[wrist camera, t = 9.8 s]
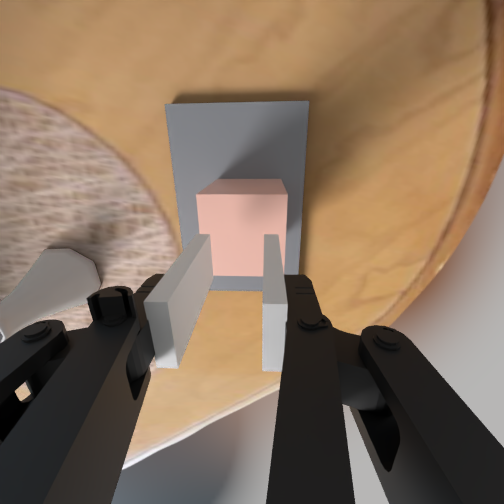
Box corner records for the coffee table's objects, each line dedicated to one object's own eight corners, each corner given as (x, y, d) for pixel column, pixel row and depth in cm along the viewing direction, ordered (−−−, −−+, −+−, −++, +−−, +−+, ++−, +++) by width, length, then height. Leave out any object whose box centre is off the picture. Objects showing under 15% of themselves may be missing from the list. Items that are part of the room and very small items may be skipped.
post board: (190, 284, 30) (172, 318, 24) (169, 105, 23) (137, 93, 17) (296, 286, 29) (303, 320, 23) (307, 102, 22) (321, 88, 16)
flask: (103, 255, 29) (27, 307, 20) (101, 307, 32) (34, 374, 22) (38, 238, 28) (-71, 284, 19) (42, 293, 31) (-52, 355, 22)
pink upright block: (221, 238, 26) (203, 275, 19) (217, 178, 24) (195, 194, 16) (278, 238, 26) (284, 276, 18) (281, 178, 24) (287, 194, 16)
